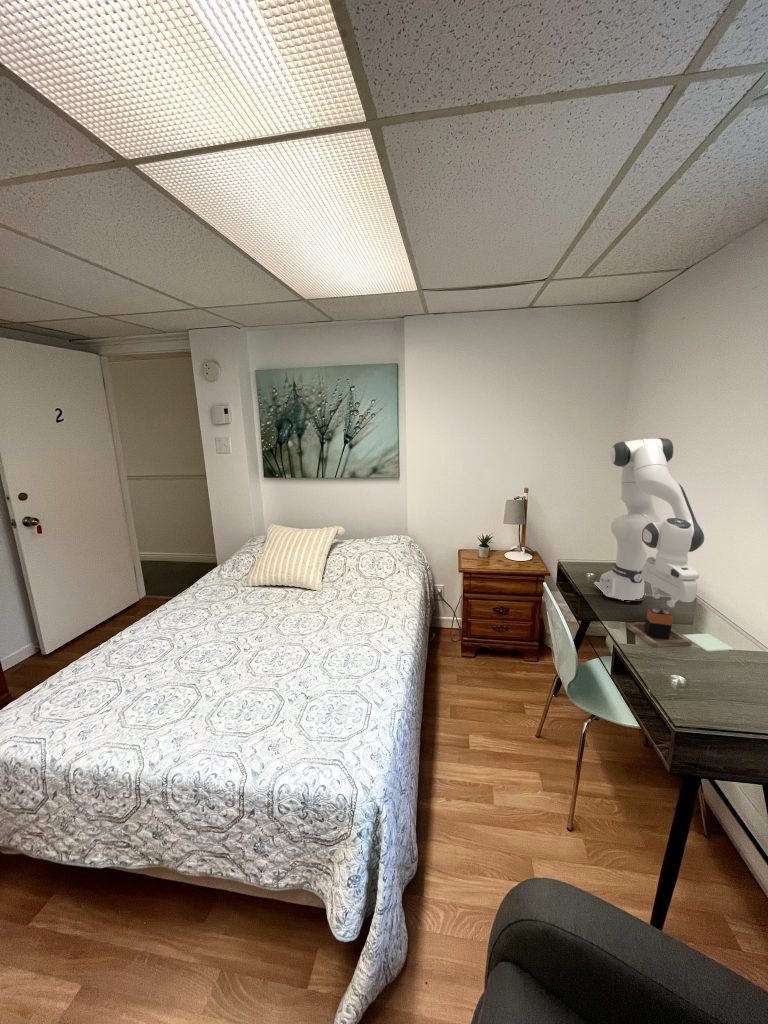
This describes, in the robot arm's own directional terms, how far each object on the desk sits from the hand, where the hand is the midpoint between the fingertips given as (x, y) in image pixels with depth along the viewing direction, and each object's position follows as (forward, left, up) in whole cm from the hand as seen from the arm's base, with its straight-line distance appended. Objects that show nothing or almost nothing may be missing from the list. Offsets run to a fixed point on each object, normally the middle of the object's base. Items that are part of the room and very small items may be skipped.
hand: (662, 601), depth 139 cm
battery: (0, 0, -13) cm, 13 cm away
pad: (+6, +14, -13) cm, 20 cm away
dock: (0, 0, -13) cm, 13 cm away
